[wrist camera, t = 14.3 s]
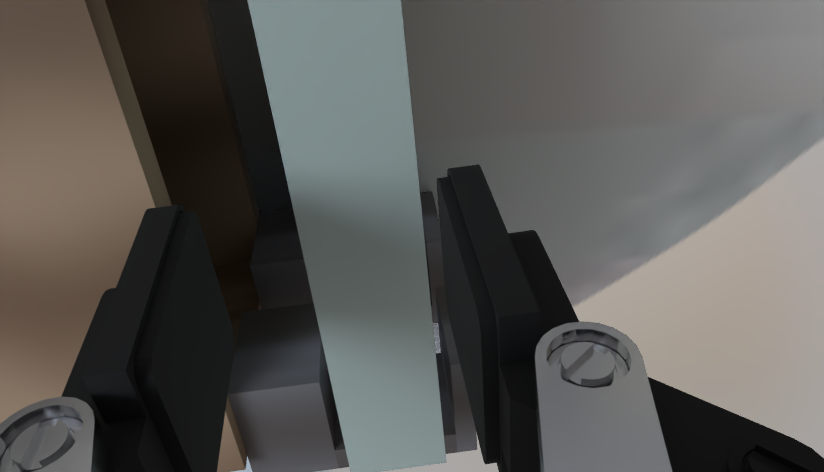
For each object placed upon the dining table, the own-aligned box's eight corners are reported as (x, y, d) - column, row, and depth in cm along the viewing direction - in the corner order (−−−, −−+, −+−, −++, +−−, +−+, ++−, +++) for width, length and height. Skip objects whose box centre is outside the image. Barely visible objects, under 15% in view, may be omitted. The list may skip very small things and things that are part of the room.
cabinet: (-171, -123, 19) (-552, -54, 11) (400, -184, 20) (447, -163, 12) (46, 316, 28) (-75, 537, 20) (438, 266, 29) (480, 463, 20)
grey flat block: (274, -194, 20) (210, -173, 10) (400, -208, 20) (467, -201, 10) (345, 222, 27) (351, 475, 17) (435, 210, 27) (493, 455, 17)
